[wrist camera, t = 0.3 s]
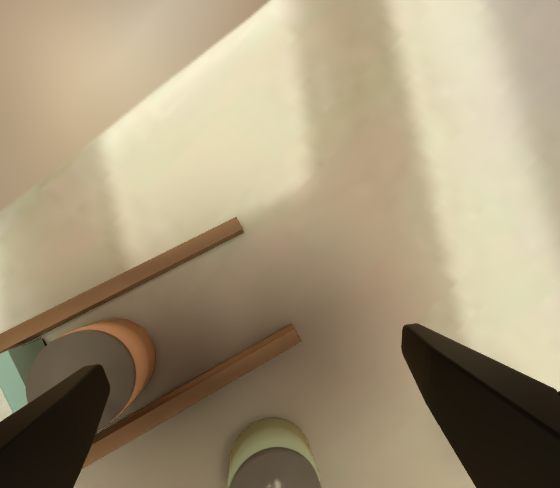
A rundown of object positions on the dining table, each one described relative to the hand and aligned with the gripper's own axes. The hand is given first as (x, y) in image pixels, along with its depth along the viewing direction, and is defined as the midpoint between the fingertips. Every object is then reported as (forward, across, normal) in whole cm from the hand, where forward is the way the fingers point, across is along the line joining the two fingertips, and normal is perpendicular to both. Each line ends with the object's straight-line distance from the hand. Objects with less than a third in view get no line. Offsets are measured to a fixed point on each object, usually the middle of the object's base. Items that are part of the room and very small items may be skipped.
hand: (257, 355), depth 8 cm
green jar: (+8, +1, +16) cm, 18 cm away
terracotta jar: (+10, +11, +8) cm, 17 cm away
